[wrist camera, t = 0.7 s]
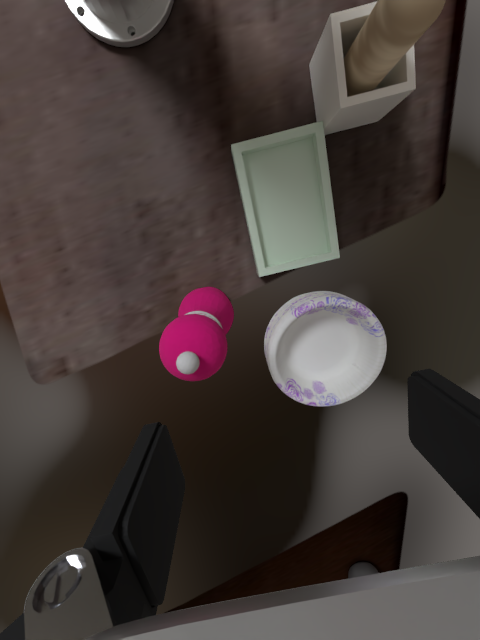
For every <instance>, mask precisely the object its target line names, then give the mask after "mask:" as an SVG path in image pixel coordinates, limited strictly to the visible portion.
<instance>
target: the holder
mask: <svg viewBox="0 0 480 640" xmlns="http://www.w3.org/2000/svg"><path fill="white" fill-rule="evenodd" d="M376 3H377V2H373V3H369V4H366V5H362V6H358V7H355V8H351V9H348V10H344V11H340V12H337V13H333V14H330V16H329V19H328V21H327V23H326V26H325V28H324V31H323V33H322V35H321V38H320V40H319V42H318V45H317V47H316V50H315V52H314V54H313V57H312V59H311V62H310V64H309V68H310V76H311V83H312V91H313V98H314V106H315V113H316V121H317V122H320V121H323V127H324V135H327V134H331V133H335V132H339V131H343V130H347V129H351V128H355V127H358V126H362V125H366V124H370V123H374V122H378V121H379V120H380V119H381V118H383V117H384V116H385V115H386V114H387V113H388V112H390V111H391V110H392V109H393V108H394V107H395V106H396V105H398V104H399V103H400V102H401V101H402V100H403V99H405V98H406V97H407V96H408V95H409V94H410V93H411V92H413V91H414V90H415V89H416V82H415V58H414V45H413V46H412V47H411V48H410V49H409V50H408V52H407V53H406V54H405V55H404V56H403V57H402V58H401V59H400V61H399V62H398V63H397V64H396V65H395V66H394V67H393V68H392V70H391V71H390V72H389V73H388V74H387V75H386V76H385V77H384V78H383V80H382V81H381V82H380V83H379V84H378V85H377V86H376V87H375V89H374V90H373V91H369V92H365V93H361V94H357V95H354V96H350V97H347V87H346V78H345V68H344V57H345V56H346V54H347V52H348V50H349V49H350V47H351V45H352V44H353V42H354V40H355V39H356V37H357V35H358V33H359V32H360V30H361V28H362V27H363V25H364V23H365V21H366V20H367V18H368V16H369V15H370V13H371V11H372V10H373V8H374V6H375V4H376Z"/></svg>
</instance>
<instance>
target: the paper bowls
mask: <svg viewBox="0 0 480 640" xmlns="http://www.w3.org/2000/svg"><path fill="white" fill-rule="evenodd" d="M386 350H387V343H386V336H385V332H384V330H383V327H382V325H381V323H380V322H379V320H378V318H377V317H376V316H375V314H374V313H373V312H372V311H371V310H370V309H368V308H367V307H366V306H365V305H363V304H361V303H359V302H357V301H355V300H353V299H351V298H349V297H347V296H345V295H342V294H339V293H336V292H331V291H314V292H309V293H305V294H302V295H299V296H296V297H294V298H292V299H291V300H289V301H288V302H287V303H285V304H284V305H283V306H282V307H281V308H280V309H279V310H278V311H277V312H276V313H275V314H274V316H273V317H272V319H271V321H270V323H269V325H268V327H267V330H266V333H265V339H264V352H265V356H266V360H267V363H268V368H269V371H270V373H271V376H272V378H273V380H274V382H275V383H276V385H277V386H278V387H279V389H280V390H281V391H282V392H283V393H285V394H286V395H287V396H289V397H290V398H292V399H293V400H295V401H298V402H300V403H303V404H306V405H310V406H332V405H338V404H341V403H344V402H347V401H349V400H351V399H353V398H355V397H357V396H358V395H360V394H361V393H362V392H364V391H365V390H366V389H367V388H368V387H369V386H370V385H371V384H372V383H373V382H374V381H375V379H376V378H377V377H378V375H379V373H380V371H381V369H382V367H383V364H384V361H385V357H386Z"/></svg>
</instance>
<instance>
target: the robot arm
mask: <svg viewBox="0 0 480 640" xmlns="http://www.w3.org/2000/svg"><path fill="white" fill-rule="evenodd" d="M65 2H66V4H67V5H68V7H69V9H70V11H71V12H72V13H73V15H74V16H75V18H76V19H77V20H78V22H79V23H80V24H81V25H82V26H83V27H84V28H85V29H86V30H87V31H88V32H89V33H90V34H92V35H93V36H94V37H96V38H97V39H99V40H101V41H103V42H105V43H107V44H110V45H113V46H117V47H132V46H137V45H140V44H142V43H144V42H146V41H149V40H150V39H151V38H152V37H154V36H155V35H156V34H157V33H158V32H159V31H160V29H161V28H162V27H163V26H164V24H165V22H166V20H167V19H168V17H169V15H170V12H171V9H172V6H173V3H174V0H65ZM408 418H409V437H410V440H411V442H412V444H413V445H414V446H415V448H416V449H417V450H418V451H419V452H420V453H421V454H422V455H423V456H424V458H425V459H426V460H427V461H428V462H429V463H430V464H431V465H432V466H433V467H434V469H436V471H437V472H438V473H439V474H440V475H441V476H442V477H443V479H444V480H445V481H446V482H447V483H448V484H449V485H450V486H451V487H452V488H453V490H454V491H456V493H457V494H458V495H459V496H460V497H461V498H462V500H463V501H464V502H465V503H466V504H467V505H468V506H469V507H470V508H471V509H472V511H473V512H474V513H475V514H476V515H477V516H478V517H479V518H480V399H478V398H476V397H475V396H473V395H472V394H470V393H468V392H467V391H465V390H464V389H462V388H461V387H459V386H457V385H456V384H454V383H453V382H451V381H449V380H448V379H446V378H445V377H443V376H441V375H440V374H438V373H437V372H435V371H433V370H431V369H425V370H420V371H415V372H413V373H412V374H411V377H409V378H408ZM184 491H185V479H184V476H183V473H182V470H181V467H180V464H179V461H178V458H177V455H176V452H175V449H174V447H173V443H172V440H171V438H170V435H169V432H168V429H167V426H166V425H162V424H161V423H160V422H157V423H152V424H147V425H144V427H143V428H142V430H141V433H140V435H139V437H138V439H137V441H136V443H135V445H134V447H133V449H132V451H131V454H130V455H129V457H128V460H127V462H126V464H125V466H124V467H123V468H122V470H121V471H120V473H119V475H118V477H117V479H116V481H115V483H114V485H113V487H112V489H111V491H110V494H109V496H108V497H107V499H106V501H105V504H104V506H103V508H102V510H101V512H100V514H99V516H98V518H97V520H96V522H95V524H94V526H93V528H92V530H91V532H90V534H89V536H88V538H87V540H86V543H85V544H84V547H83V548H76V549H73V550H70V551H68V552H66V553H64V554H63V555H61V556H60V557H58V558H57V559H55V560H54V561H53V562H52V563H51V564H50V565H49V566H48V567H47V568H46V569H45V570H44V571H43V572H42V574H41V575H40V576H39V577H38V578H37V580H36V581H35V583H34V585H33V586H32V588H31V589H30V591H29V594H28V596H27V599H26V601H25V609H24V613H23V614H22V615H21V616H20V617H19V618H17V619H16V620H15V621H14V622H13V623H12V624H11V625H10V626H8V627H7V628H6V629H5V630H4V631H3V632H2V633H0V640H480V556H477V557H471V558H464V559H459V560H453V561H447V562H441V563H435V564H430V565H424V566H418V567H412V568H406V569H400V570H395V571H389V572H383V573H378V574H372V575H366V576H361V577H355V578H350V579H344V580H338V581H333V582H327V583H322V584H316V585H310V586H305V587H299V588H294V589H288V590H283V591H278V592H272V593H267V594H261V595H256V596H250V597H245V598H240V599H234V600H229V601H223V602H218V603H213V604H207V605H202V606H198V607H193V608H188V609H183V610H178V611H173V612H169V613H164V614H159V615H156V611H157V606H158V605H161V604H162V603H163V600H164V596H165V591H166V585H167V581H168V575H169V570H170V565H171V559H172V554H173V549H174V543H175V538H176V533H177V528H178V523H179V517H180V512H181V507H182V501H183V496H184Z"/></svg>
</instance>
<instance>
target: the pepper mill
mask: <svg viewBox="0 0 480 640" xmlns="http://www.w3.org/2000/svg"><path fill="white" fill-rule="evenodd" d="M233 318H234V311H233V307H232V304H231V302H230V301H229V299H228V298H227V296H226V295H225V294H224V293H223V292H222V291H221V290H219V289H217V288H213V287H204V288H199V289H196V290H193V291H192V292H190V293H189V294H188V295H187V296H186V297H185V298H184V299H183V301H182V303H181V305H180V308H179V313H178V318H176V319H174V320H173V321H172V322H171V323H170V324H169V325H168V326H167V327H166V328H165V330H164V332H163V334H162V336H161V339H160V344H159V353H160V358H161V360H162V362H163V364H164V366H165V368H166V369H167V370H168V371H169V372H170V373H171V374H172V375H174V376H175V377H178V378H180V379H183V380H186V381H199V380H203V379H206V378H208V377H210V376H211V375H213V374H215V373H216V372H217V370H219V369H220V367H221V366H222V364H223V362H224V360H225V358H226V354H227V339H226V336H225V335H226V334H227V333H228V331H229V330H230V328H231V326H232V323H233Z"/></svg>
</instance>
